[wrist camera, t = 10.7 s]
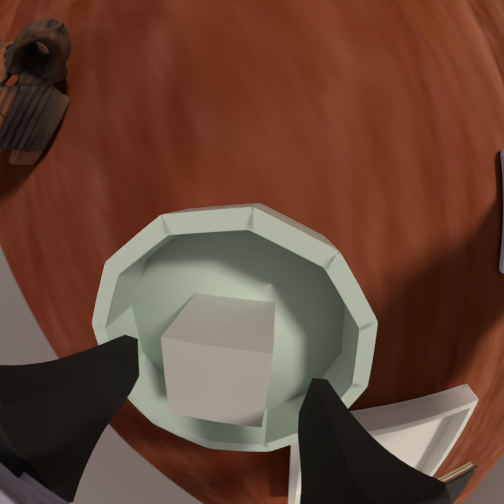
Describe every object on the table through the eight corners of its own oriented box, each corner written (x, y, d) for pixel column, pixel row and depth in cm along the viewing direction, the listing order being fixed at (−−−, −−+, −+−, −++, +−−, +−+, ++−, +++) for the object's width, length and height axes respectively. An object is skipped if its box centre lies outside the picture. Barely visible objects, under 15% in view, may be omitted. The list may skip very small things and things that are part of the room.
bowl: (357, 199, 13) (383, 202, 9) (343, 406, 15) (352, 445, 12) (111, 217, 14) (72, 226, 10) (154, 403, 17) (136, 435, 13)
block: (266, 367, 14) (261, 427, 10) (196, 357, 15) (169, 412, 10) (275, 302, 13) (273, 353, 9) (195, 293, 14) (160, 337, 9)
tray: (466, 383, 14) (478, 399, 12) (422, 467, 17) (428, 481, 15) (290, 416, 16) (291, 439, 14) (288, 490, 18) (287, 508, 16)
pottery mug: (21, 197, 15) (-61, 175, 8) (43, 113, 18) (-20, 89, 10) (101, 86, 10) (-24, 28, 3) (122, 19, 12) (46, -26, 5)
